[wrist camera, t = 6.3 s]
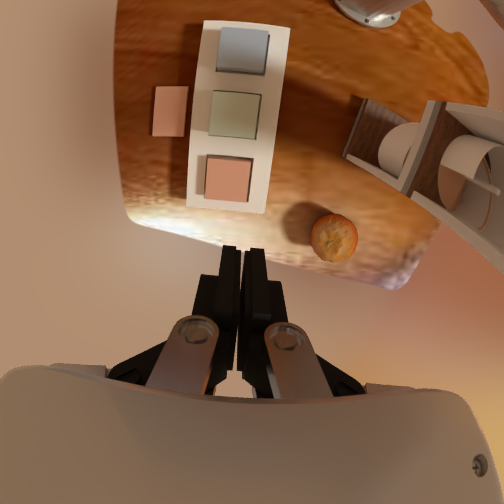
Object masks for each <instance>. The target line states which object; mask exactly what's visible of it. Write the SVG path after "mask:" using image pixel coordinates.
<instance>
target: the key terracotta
mask: <svg viewBox="0 0 504 504" xmlns="http://www.w3.org/2000/svg"><path fill="white" fill-rule="evenodd" d="M250 167H251V159H250V158H240V157H230V156H218V155H210V156H209V158H208V162H207V175H206V190H205V199H211V200H223V201H233V202H243V203H246V200H247V192H248V183H249V175H250Z"/></svg>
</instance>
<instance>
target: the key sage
mask: <svg viewBox="0 0 504 504" xmlns="http://www.w3.org/2000/svg"><path fill="white" fill-rule="evenodd" d="M259 99H260V95H253V94H244V93H232V92H218V91H213V96H212V105H211V115H210V125H209V135H217V136H229V137H240V138H250V139H254V138H255V130H256V122H257V115H258V107H259Z"/></svg>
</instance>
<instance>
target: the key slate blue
mask: <svg viewBox="0 0 504 504" xmlns="http://www.w3.org/2000/svg"><path fill="white" fill-rule="evenodd" d="M268 33H269V31H265V30H257V29H247V28H233V27H222V30H221V36H220V43H219V50H218V57H217V64H216V67H217V68H218V70H228V71H241V72H251V73H260V74H262V73H263V69H264V62H265V55H266V48H267V40H268Z"/></svg>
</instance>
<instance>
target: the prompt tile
mask: <svg viewBox="0 0 504 504" xmlns="http://www.w3.org/2000/svg"><path fill="white" fill-rule="evenodd" d="M188 91H189V87H188V86H163V87H156V93H155V104H154V118H153V135H152V136H177V137H184V136H185V123H186V111H187V101H188Z"/></svg>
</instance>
